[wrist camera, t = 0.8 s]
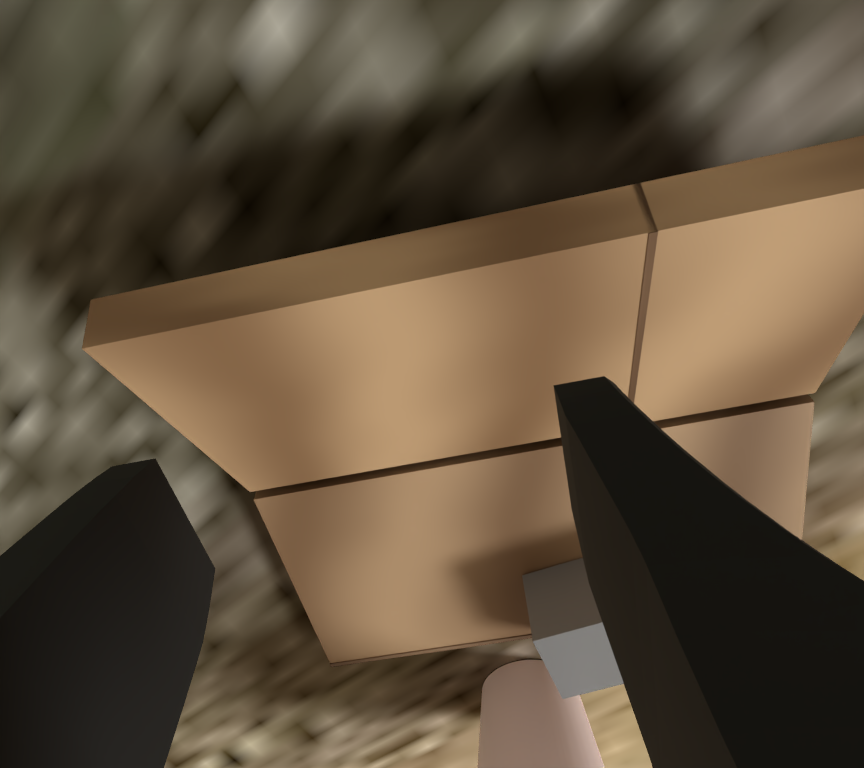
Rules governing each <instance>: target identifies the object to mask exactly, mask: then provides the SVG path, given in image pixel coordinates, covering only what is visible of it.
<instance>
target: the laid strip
mask: <svg viewBox="0 0 864 768" xmlns="http://www.w3.org/2000/svg"><path fill="white" fill-rule="evenodd" d="M813 411H814V401H813V400H812V399H811V397H810V396H809V395H808V394H806V395H800V396H794V397H788V398H783V399H777V400H771V401H766V402H760V403H754V404H749V405H743V406H737V407H732V408H726V409H720V410H714V411H709V412H703V413H697V414H692V415H686V416H680V417H675V418H669V419H663V420H657V421H653V422H654V423H655V424H656V425H658V426H659V427H660V428H661V429H662V430H663V431H664V432H665V433H666V434H667V435H668V436H670V437H671V438H672V439H673V440H674V441H675V442H676V443H677V444H679V445H680V446H681V447H682V448H683V449H684V450H686V451H687V452H688V453H689V454H690V455H692V456H693V457H694V458H695V459H696V460H698V461H699V462H700V463H701V464H702V465H704V466H705V467H706V468H707V469H708V470H710V471H711V472H712V473H713V474H714V475H716V476H717V477H718V478H719V479H721V480H722V481H723V482H724V483H725V484H727V485H728V486H729V487H731V488H732V489H733V490H734V491H736V492H737V493H738V494H740V495H741V496H742V497H743V498H745V499H746V500H747V501H749V502H750V503H751V504H753V505H754V506H755V507H757V508H758V509H759V510H761V511H762V512H763V513H765V514H766V515H768V516H769V517H770V518H772V519H773V520H774V521H776V522H777V523H778V524H780V525H781V526H783V527H784V528H785V529H787V530H788V531H789V532H791V533H792V534H794V535H795V536H797V537H798V538H799V539H801V540H802V533H803V522H804V511H805V500H806V489H807V478H808V467H809V456H810V445H811V434H812V422H813ZM254 501H255V504H256V506H257V508H258V510H259V512H260V514H261V516H262V519H263V521H264V523H265V525H266V527H267V529H268V531H269V534H270V536H271V538H272V540H273V542H274V544H275V546H276V549H277V551H278V553H279V555H280V557H281V559H282V561H283V564H284V566H285V568H286V570H287V572H288V574H289V576H290V579H291V581H292V583H293V585H294V587H295V589H296V591H297V594H298V596H299V598H300V600H301V602H302V604H303V607H304V609H305V611H306V613H307V615H308V617H309V619H310V622H311V624H312V626H313V628H314V630H315V632H316V634H317V637H318V639H319V641H320V643H321V645H322V647H323V649H324V652H325V654H326V656H327V658H328V660H329V662H330V666H331V667H335V666H342V665H349V664H356V663H363V662H369V661H376V660H383V659H390V658H397V657H404V656H411V655H418V654H425V653H432V652H438V651H445V650H452V649H459V648H466V647H473V646H480V645H487V644H494V643H500V642H507V641H514V640H521V639H528V638H532V633H531V627H530V621H529V615H528V609H527V603H526V596H525V590H524V584H523V578H522V575H525V574H528V573H532V572H535V571H539V570H542V569H546V568H549V567H552V566H556V565H559V564H563V563H566V562H570V561H573V560H576V559H580V558H583V556H582V552H581V548H580V544H579V539H578V535H577V531H576V526H575V522H574V518H573V513H572V508H571V501H570V495H569V488H568V481H567V474H566V467H565V461H564V454H563V447H562V440H561V438H555V439H549V440H544V441H538V442H532V443H526V444H521V445H515V446H509V447H504V448H498V449H492V450H487V451H481V452H475V453H469V454H464V455H458V456H452V457H447V458H441V459H435V460H430V461H424V462H418V463H412V464H407V465H401V466H395V467H390V468H384V469H378V470H373V471H367V472H361V473H356V474H350V475H344V476H338V477H333V478H327V479H321V480H316V481H310V482H304V483H299V484H293V485H287V486H281V487H276V488H270V489H264V490H259V491H256V494H255V497H254Z"/></svg>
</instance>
